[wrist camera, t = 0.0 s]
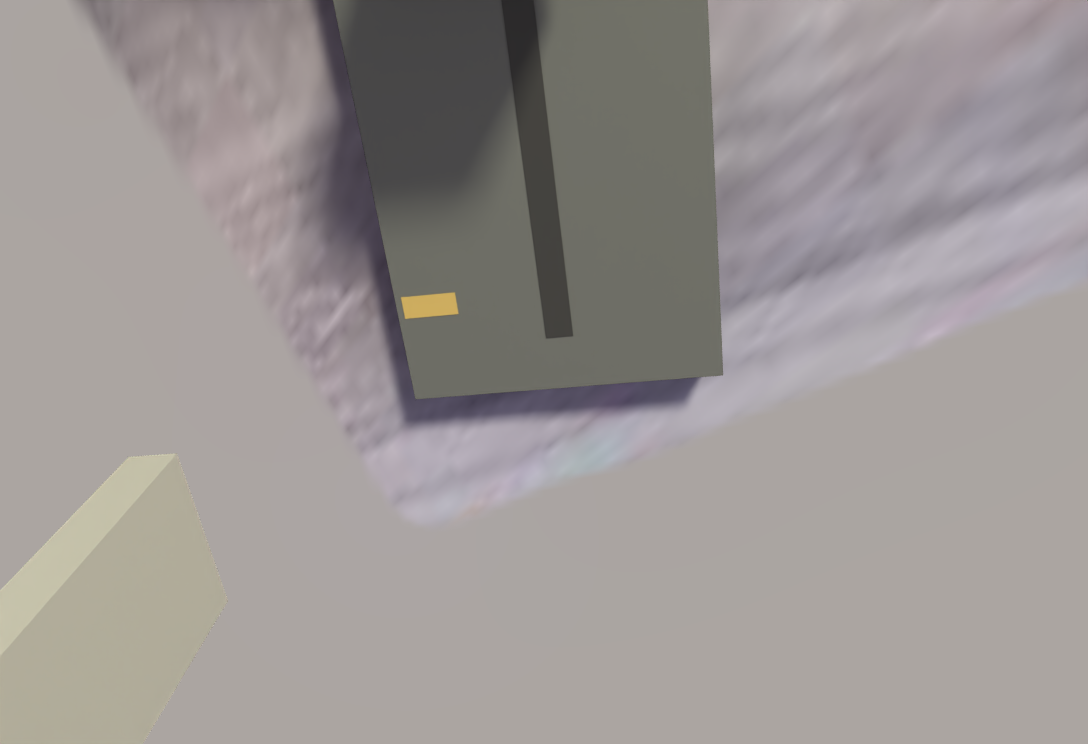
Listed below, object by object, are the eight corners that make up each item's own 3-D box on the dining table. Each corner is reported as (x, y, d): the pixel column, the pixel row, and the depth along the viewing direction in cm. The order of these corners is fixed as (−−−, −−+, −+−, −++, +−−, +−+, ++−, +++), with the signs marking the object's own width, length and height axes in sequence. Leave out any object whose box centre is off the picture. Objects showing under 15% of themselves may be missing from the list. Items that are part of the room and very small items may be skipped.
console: (309, -232, 33) (281, -249, 30) (687, -295, 31) (694, -319, 28) (427, 371, 43) (415, 399, 41) (715, 347, 42) (723, 375, 39)
